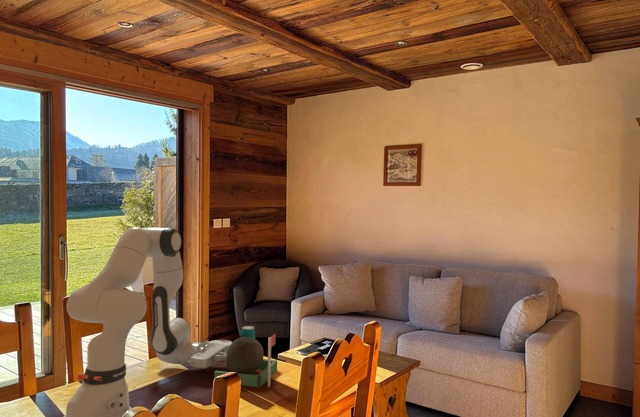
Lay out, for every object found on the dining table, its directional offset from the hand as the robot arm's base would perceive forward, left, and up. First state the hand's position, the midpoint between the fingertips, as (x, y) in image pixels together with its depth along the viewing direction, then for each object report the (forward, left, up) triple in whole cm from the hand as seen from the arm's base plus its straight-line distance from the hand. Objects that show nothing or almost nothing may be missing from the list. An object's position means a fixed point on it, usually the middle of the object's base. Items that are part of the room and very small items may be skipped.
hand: (228, 357), depth 197 cm
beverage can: (+15, -2, -7) cm, 16 cm away
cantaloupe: (-1, -7, -7) cm, 10 cm away
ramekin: (+22, +14, -7) cm, 27 cm away
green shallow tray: (0, -10, -7) cm, 12 cm away
